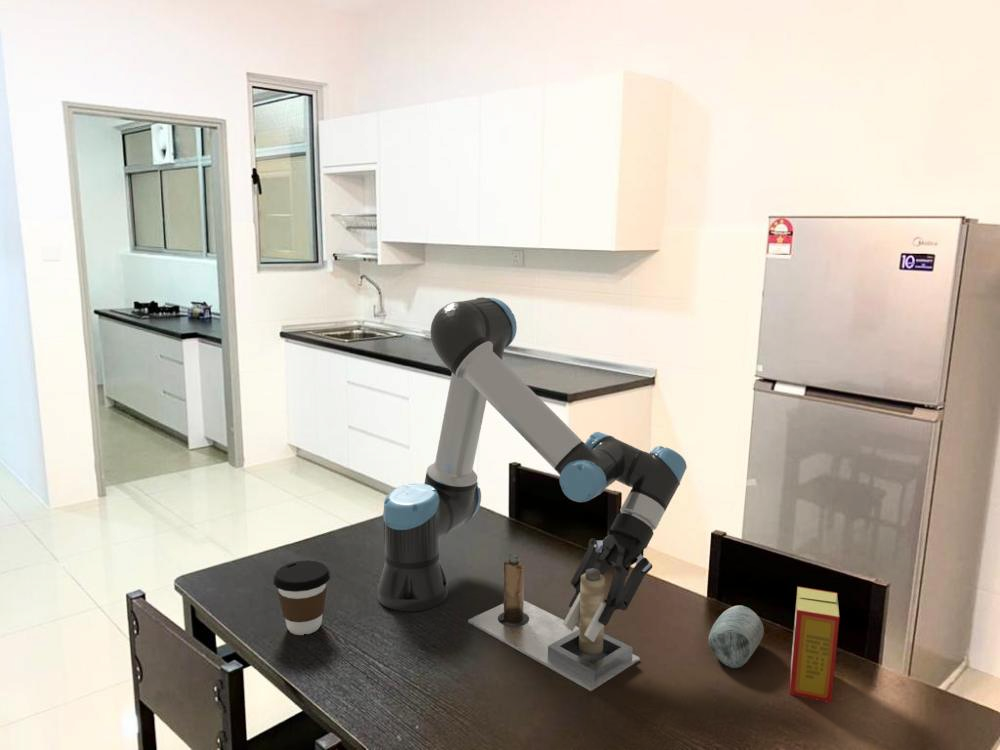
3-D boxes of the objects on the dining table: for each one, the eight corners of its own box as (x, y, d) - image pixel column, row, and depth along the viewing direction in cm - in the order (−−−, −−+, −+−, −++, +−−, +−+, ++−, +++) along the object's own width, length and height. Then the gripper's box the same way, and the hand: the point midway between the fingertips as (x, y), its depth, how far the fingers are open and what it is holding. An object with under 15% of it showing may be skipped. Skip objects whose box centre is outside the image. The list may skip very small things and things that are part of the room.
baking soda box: (831, 703, 128) (839, 615, 125) (789, 694, 131) (797, 608, 128) (829, 673, 137) (837, 590, 134) (790, 665, 139) (797, 584, 136)
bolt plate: (468, 622, 154) (467, 556, 151) (517, 599, 163) (517, 537, 161) (590, 691, 131) (593, 615, 129) (639, 660, 141) (642, 589, 138)
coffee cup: (265, 627, 152) (262, 571, 149) (312, 608, 159) (309, 554, 157) (295, 648, 144) (292, 589, 142) (343, 626, 152) (341, 570, 150)
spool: (756, 667, 133) (738, 608, 136) (706, 674, 138) (690, 618, 141) (781, 652, 144) (764, 598, 147) (735, 659, 149) (719, 607, 152)
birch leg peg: (574, 648, 140) (575, 571, 137) (589, 639, 143) (591, 564, 140) (592, 658, 137) (594, 579, 134) (607, 649, 140) (610, 571, 137)
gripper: (683, 544, 140) (625, 660, 132) (608, 519, 153) (551, 623, 145) (668, 525, 136) (607, 644, 128) (592, 500, 148) (532, 607, 140)
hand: (578, 632), depth 136 cm, fingers closed on birch leg peg, 4 cm apart
